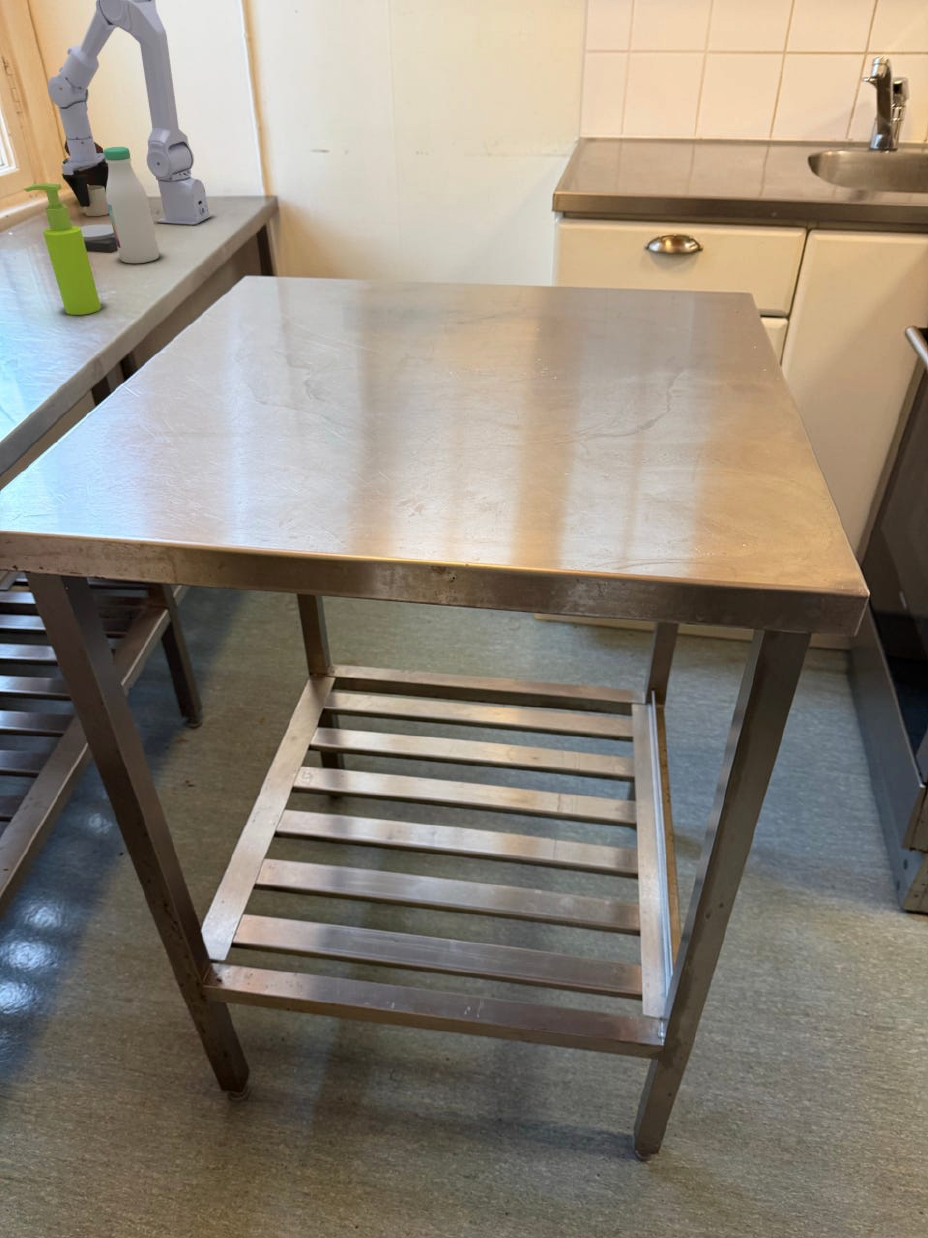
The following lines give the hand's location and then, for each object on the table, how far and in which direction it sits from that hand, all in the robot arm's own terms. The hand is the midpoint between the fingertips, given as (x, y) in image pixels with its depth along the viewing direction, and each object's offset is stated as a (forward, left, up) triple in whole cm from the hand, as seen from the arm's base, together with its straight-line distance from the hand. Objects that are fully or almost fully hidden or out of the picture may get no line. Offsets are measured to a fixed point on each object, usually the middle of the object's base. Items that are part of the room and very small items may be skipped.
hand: (95, 202), depth 209 cm
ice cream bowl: (+7, -10, -2) cm, 12 cm away
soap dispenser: (-38, +61, -2) cm, 72 cm away
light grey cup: (0, 0, -2) cm, 2 cm away
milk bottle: (-31, +31, -3) cm, 44 cm away
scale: (-16, +23, -2) cm, 28 cm away
